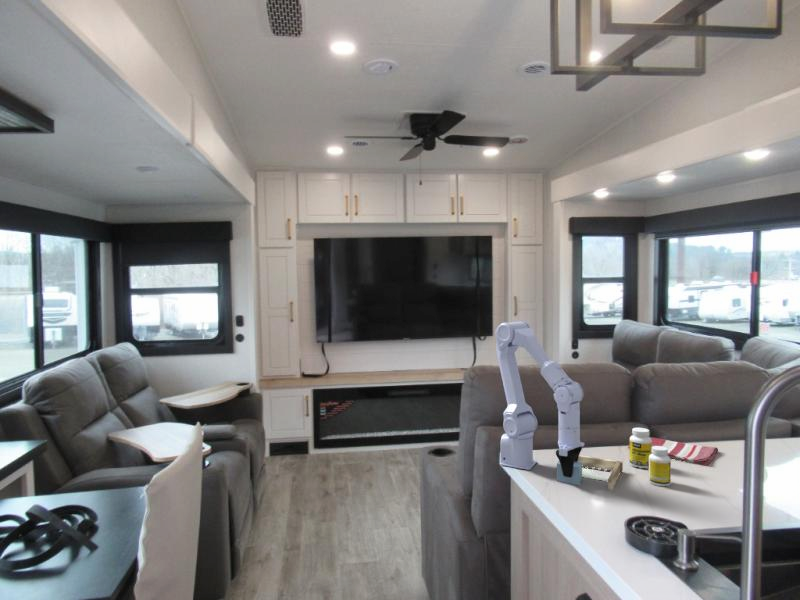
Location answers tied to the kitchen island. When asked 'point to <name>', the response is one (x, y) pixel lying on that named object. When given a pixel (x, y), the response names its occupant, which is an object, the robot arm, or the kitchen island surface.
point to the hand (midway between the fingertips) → (569, 473)
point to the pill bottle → (640, 447)
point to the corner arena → (603, 464)
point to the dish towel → (687, 451)
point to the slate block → (576, 474)
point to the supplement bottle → (659, 466)
